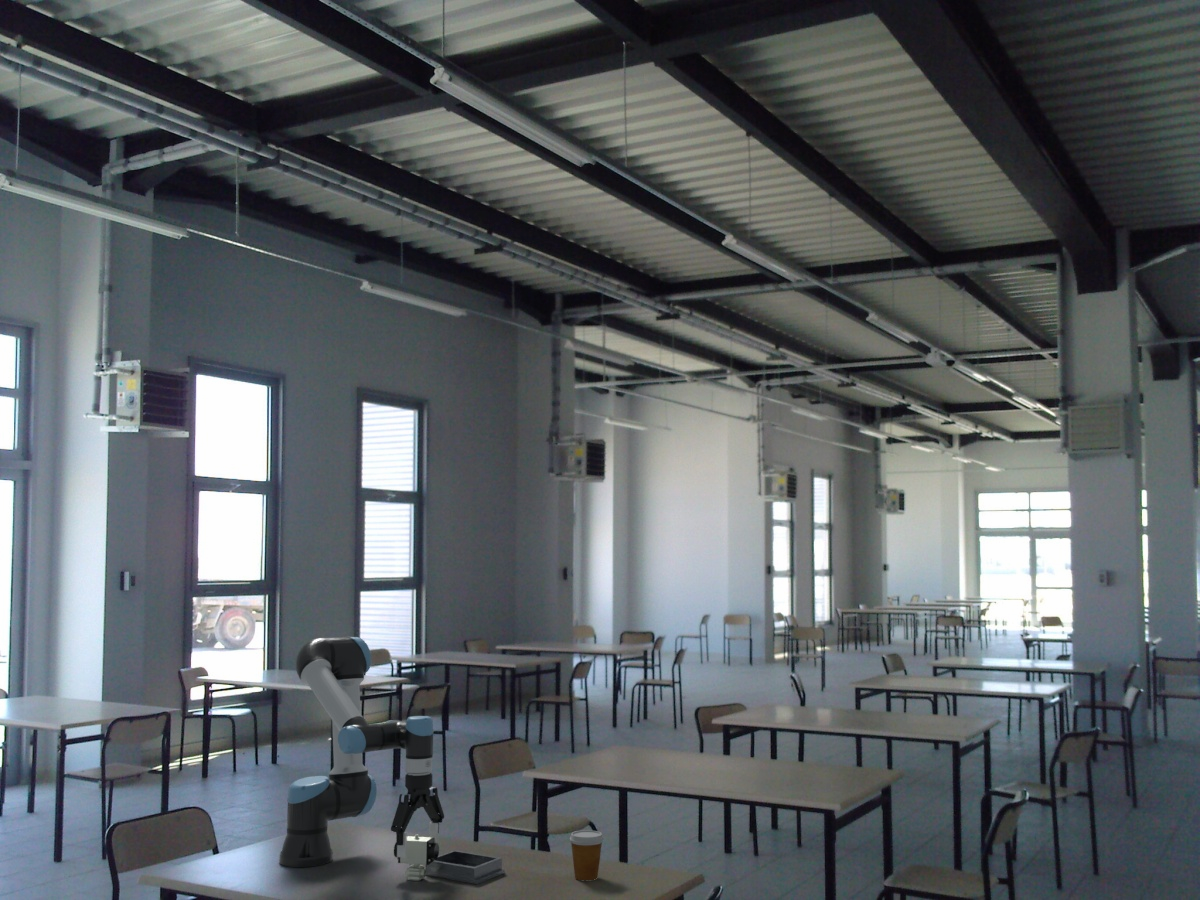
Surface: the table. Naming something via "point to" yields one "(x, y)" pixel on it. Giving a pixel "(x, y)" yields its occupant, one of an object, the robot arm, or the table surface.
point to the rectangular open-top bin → (465, 867)
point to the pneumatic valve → (418, 856)
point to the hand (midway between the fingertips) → (417, 851)
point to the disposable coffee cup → (586, 853)
